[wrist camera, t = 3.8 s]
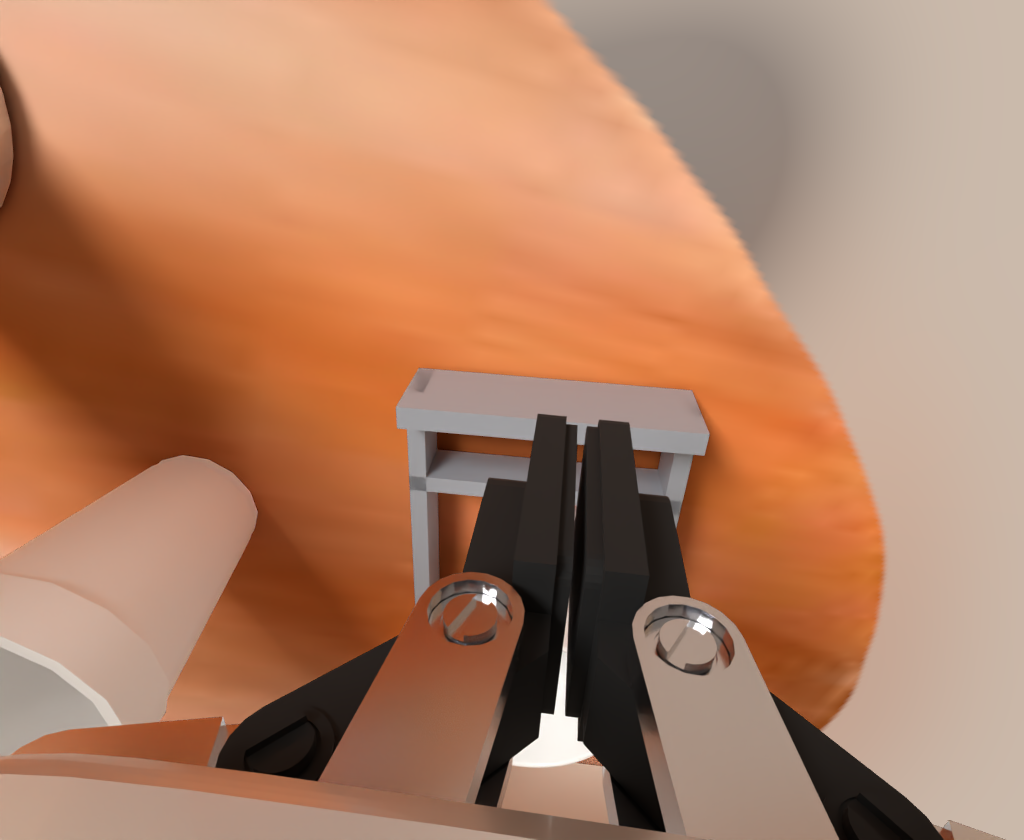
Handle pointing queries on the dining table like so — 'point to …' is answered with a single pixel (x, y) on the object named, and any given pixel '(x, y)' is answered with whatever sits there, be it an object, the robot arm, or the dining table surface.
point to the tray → (530, 438)
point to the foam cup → (117, 600)
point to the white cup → (555, 730)
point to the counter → (558, 792)
